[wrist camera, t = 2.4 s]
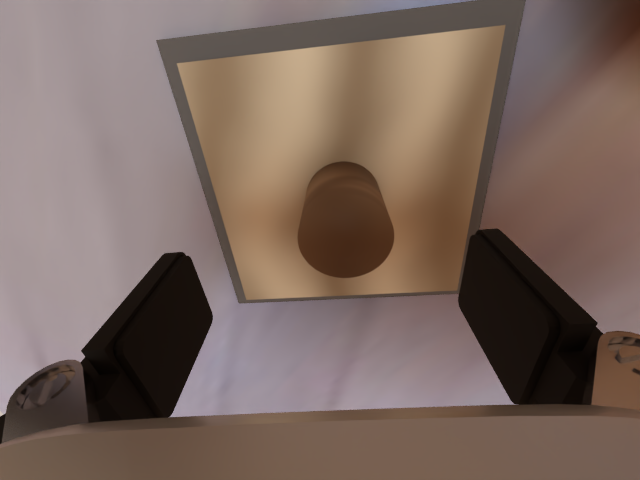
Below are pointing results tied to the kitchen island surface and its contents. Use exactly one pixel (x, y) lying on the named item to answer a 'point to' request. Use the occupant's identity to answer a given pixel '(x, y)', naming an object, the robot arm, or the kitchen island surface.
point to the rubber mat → (489, 10)
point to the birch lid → (347, 160)
